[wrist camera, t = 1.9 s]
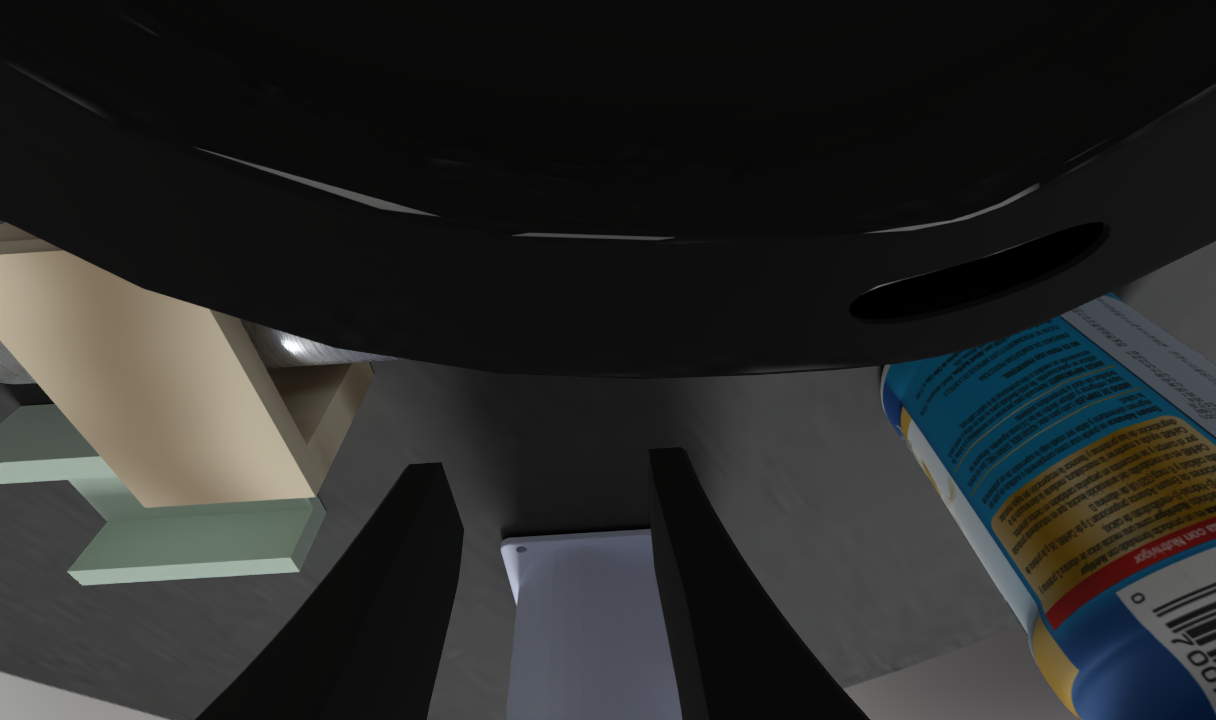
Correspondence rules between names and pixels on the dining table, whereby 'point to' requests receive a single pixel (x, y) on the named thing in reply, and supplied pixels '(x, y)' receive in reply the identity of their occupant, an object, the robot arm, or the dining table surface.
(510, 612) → the dining table surface
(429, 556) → the robot arm
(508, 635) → the dining table surface
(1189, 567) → the beverage bottle
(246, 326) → the axle
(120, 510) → the cradle
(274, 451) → the wooden bridge block
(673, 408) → the dining table surface
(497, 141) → the coffee cup
